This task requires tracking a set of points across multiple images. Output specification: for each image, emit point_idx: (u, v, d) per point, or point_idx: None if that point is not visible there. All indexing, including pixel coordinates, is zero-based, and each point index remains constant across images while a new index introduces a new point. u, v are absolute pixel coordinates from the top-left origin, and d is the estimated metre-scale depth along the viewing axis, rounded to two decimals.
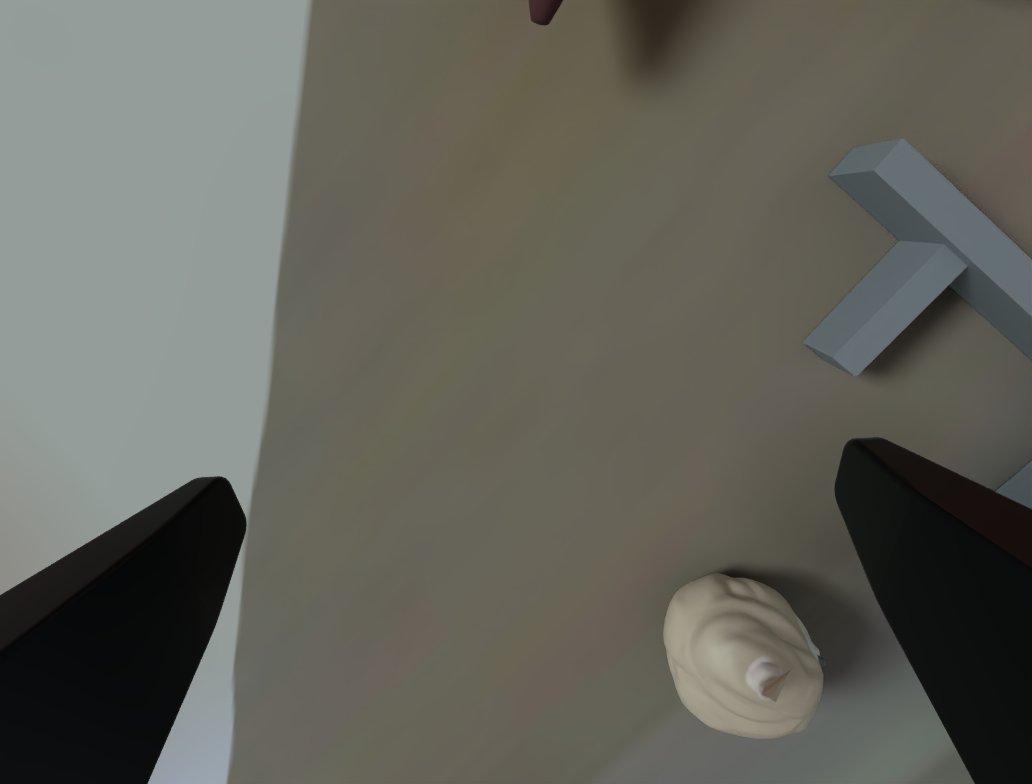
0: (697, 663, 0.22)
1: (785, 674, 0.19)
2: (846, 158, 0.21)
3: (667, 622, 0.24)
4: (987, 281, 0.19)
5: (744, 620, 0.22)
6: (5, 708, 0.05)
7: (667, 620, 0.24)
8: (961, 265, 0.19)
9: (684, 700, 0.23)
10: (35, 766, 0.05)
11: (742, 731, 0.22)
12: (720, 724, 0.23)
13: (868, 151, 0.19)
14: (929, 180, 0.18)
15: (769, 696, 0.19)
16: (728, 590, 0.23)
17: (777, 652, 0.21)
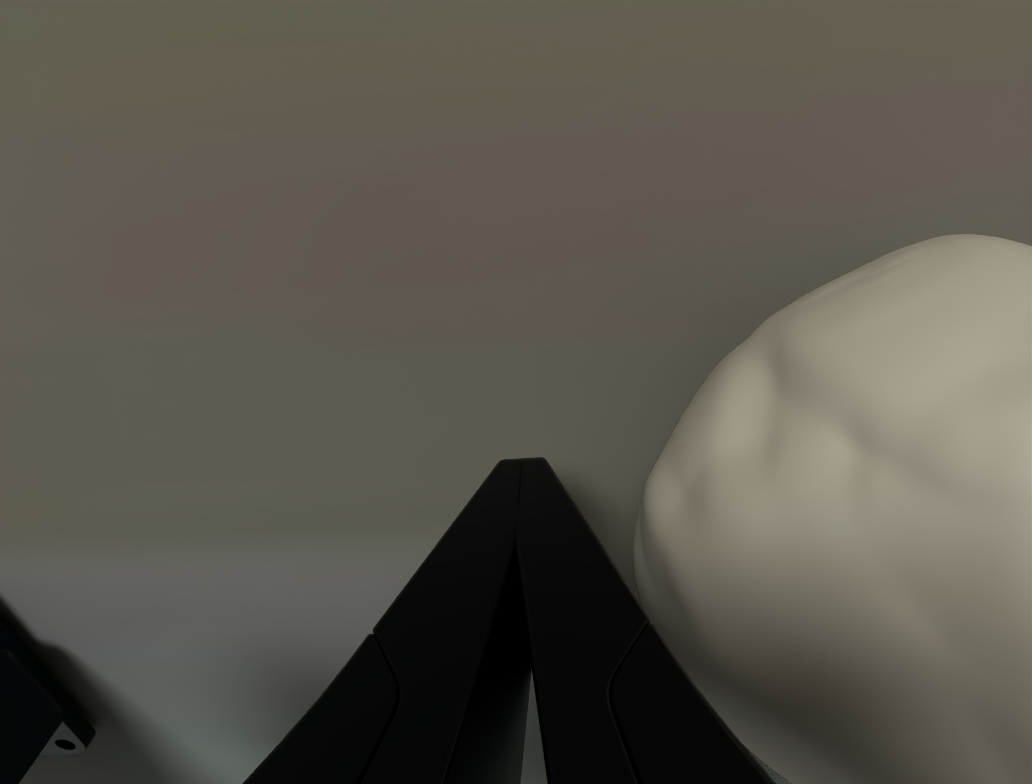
0: None
1: None
2: None
3: (903, 279, 0.05)
4: None
5: None
6: (489, 695, 0.05)
7: (904, 274, 0.05)
8: None
9: (728, 557, 0.05)
10: (495, 758, 0.05)
11: None
12: (805, 715, 0.05)
13: None
14: None
15: None
16: None
17: None
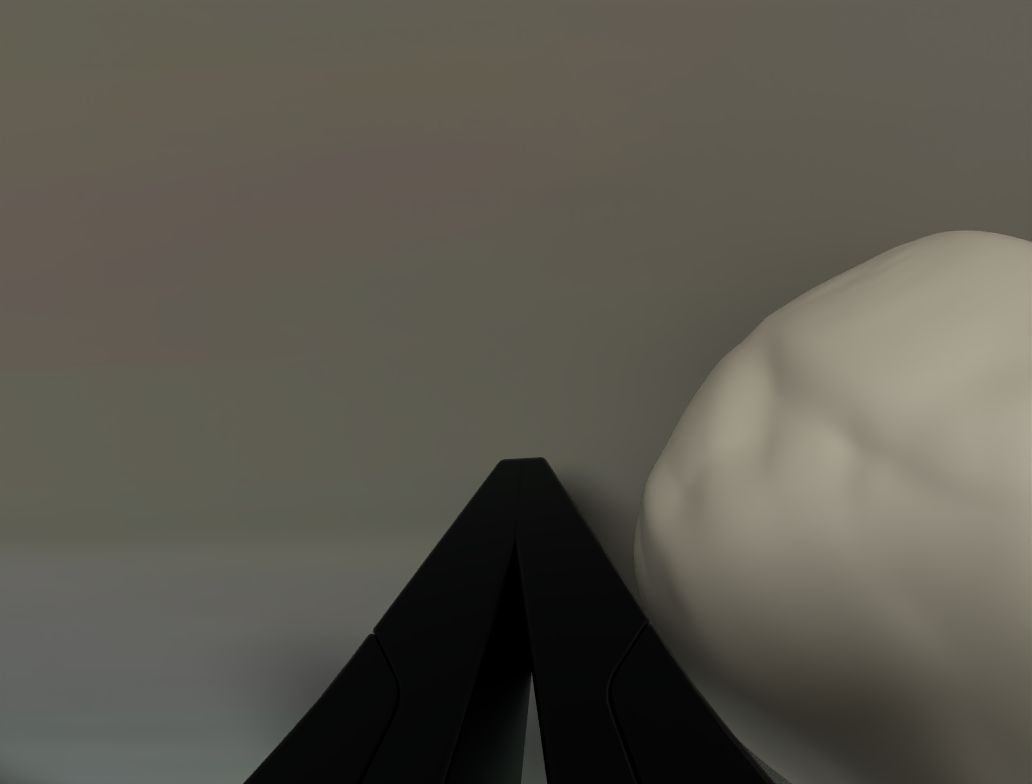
0: None
1: None
2: None
3: (901, 277, 0.05)
4: None
5: None
6: (490, 695, 0.05)
7: (903, 272, 0.05)
8: None
9: (726, 558, 0.05)
10: (496, 757, 0.05)
11: None
12: (806, 717, 0.05)
13: None
14: None
15: None
16: None
17: None
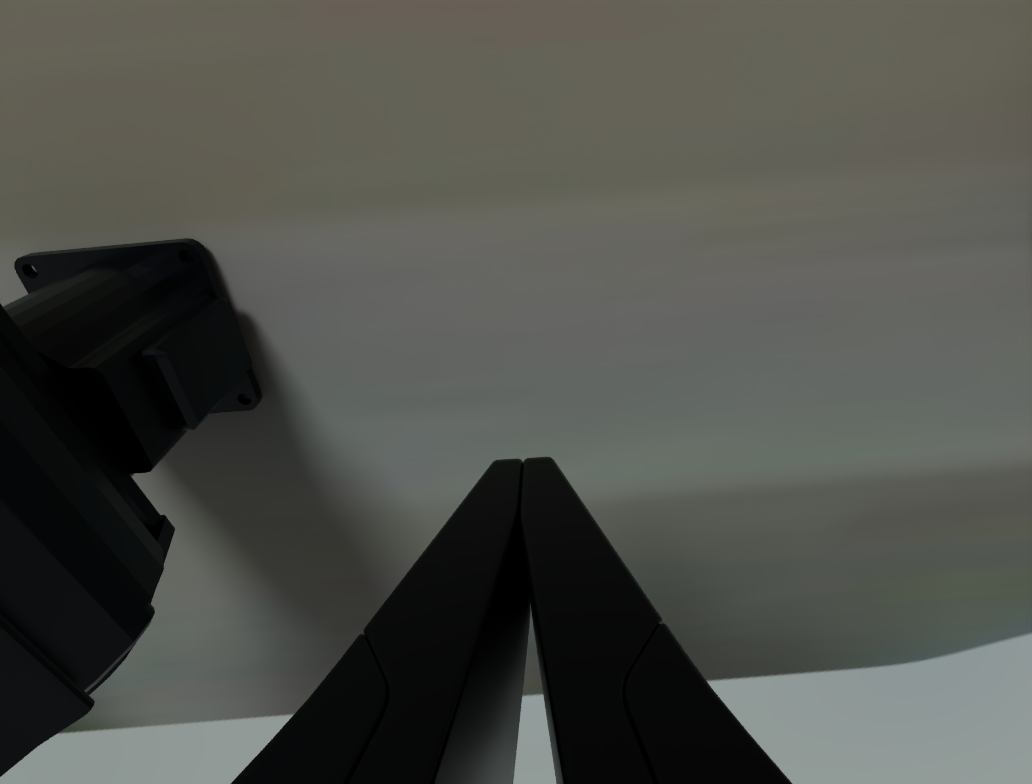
0: None
1: None
2: None
3: None
4: None
5: None
6: (480, 695, 0.05)
7: None
8: None
9: None
10: (486, 757, 0.05)
11: None
12: None
13: None
14: None
15: None
16: None
17: None
